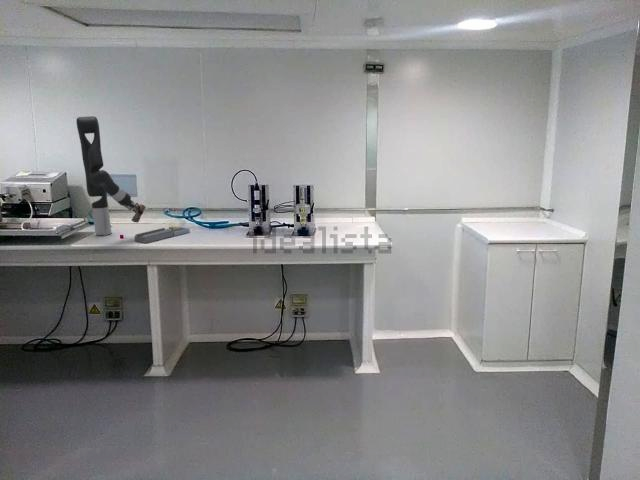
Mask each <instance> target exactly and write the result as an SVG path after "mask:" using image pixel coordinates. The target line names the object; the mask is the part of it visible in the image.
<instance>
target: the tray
mask: <svg viewBox="0 0 640 480" xmlns="http://www.w3.org/2000/svg"><path fill="white" fill-rule="evenodd" d="M181 227H182V230H180V231H176V232H173V236H172V237H177V236H181V235H184V234H189V233H190V228H189V227H183V226H181ZM168 229H169V228H166V229H165V230H168Z"/></svg>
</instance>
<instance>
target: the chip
mask: <svg viewBox="0 0 640 480" xmlns="http://www.w3.org/2000/svg"><path fill="white" fill-rule="evenodd" d="M168 229H172V231H173V232H176V231H177V226H173V225H171V226H169V227H168Z"/></svg>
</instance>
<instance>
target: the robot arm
mask: <svg viewBox="0 0 640 480" xmlns="http://www.w3.org/2000/svg"><path fill="white" fill-rule="evenodd" d="M98 120H99V119H98V118H97V117H96V116H94V115H93V116H78V117H77V118H76V122H75V123H76V128H77V132H78V133H77V134H78V136H79V137H78V138H79V142H80V148H81V156H82V162H83V167H84V173H85V186H86V192H87V195H88V197H94V198H95V197H101V198H100V199H98V200H96V201H93V202H92V203H91V209H92V211H91V212H92V219H93V225H94V233H95V236H97V235H104V236H109V235H111V234H112V227H111V218H110V211H109V204H108V195H109V196H110V198H112V199H113V200H114V201H115V202H117V203H118V204H119V205H120V206H123V207H124V208H126V209H128V210H129V211H132V212H134V214H135V213H136V212H138V213H139V214H140V215H141V216H142V215H143V214H144V211H142V210H140V208H141V207H140V204H139V202H134V201H133V200H132V198H131V197H132V196H131V195H130V194H129V193H128V192H127V191H126V190H124V189H123V188H121V186H119V185H118V184H117V183H115V181H114V180H113V178H112V177H111V175H110V173H109V172H108V171H106V170H104V169H102V168H103V167H104V160H103V155H102V149H101V147H102V144H101V134H100V133H101V132H100V125H99V121H98ZM89 134H93V141H92V143H91V142H90V141H89V139H88V138H87V137H86V135H89ZM101 169H102V170H101ZM108 234H109V235H108Z"/></svg>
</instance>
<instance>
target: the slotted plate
mask: <svg viewBox="0 0 640 480" xmlns="http://www.w3.org/2000/svg"><path fill="white" fill-rule="evenodd" d="M165 228H166V227H161V228H157V229H152V230H148V231H144V232H141V233H140V232H139V233H136V234H135V235H134V241H135V242H137V243H143V244H148V243H152V242H157V241H161V240H164V239H168V238H172V237H174V236H173V231H172V229H169V228H167V229H168V230H165Z"/></svg>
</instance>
